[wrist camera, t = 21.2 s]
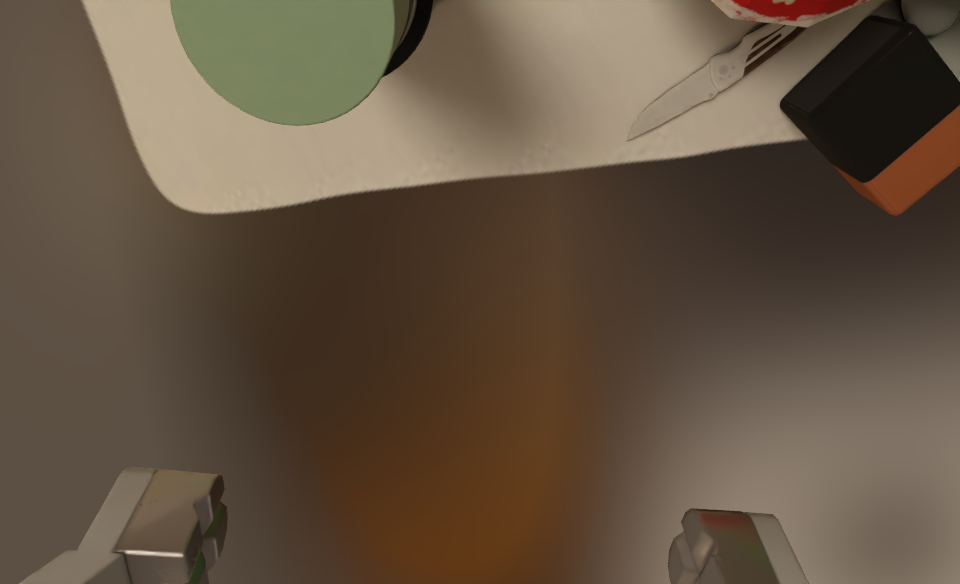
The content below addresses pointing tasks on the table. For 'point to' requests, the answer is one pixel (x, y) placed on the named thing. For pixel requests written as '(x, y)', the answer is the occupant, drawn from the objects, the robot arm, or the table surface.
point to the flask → (412, 33)
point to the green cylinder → (291, 52)
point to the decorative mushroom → (785, 10)
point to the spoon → (931, 14)
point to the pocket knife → (717, 75)
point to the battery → (882, 112)
